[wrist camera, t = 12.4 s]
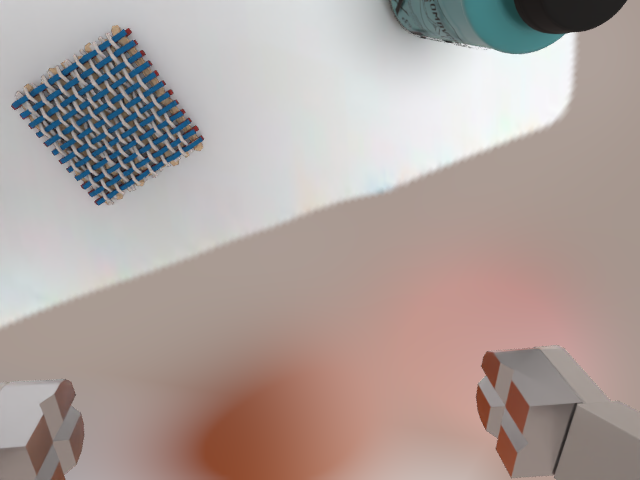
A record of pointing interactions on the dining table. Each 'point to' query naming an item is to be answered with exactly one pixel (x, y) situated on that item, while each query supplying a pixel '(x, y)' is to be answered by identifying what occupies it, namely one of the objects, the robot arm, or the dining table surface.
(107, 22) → the dining table surface
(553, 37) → the beverage bottle
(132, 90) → the woven mat
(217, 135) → the dining table surface
